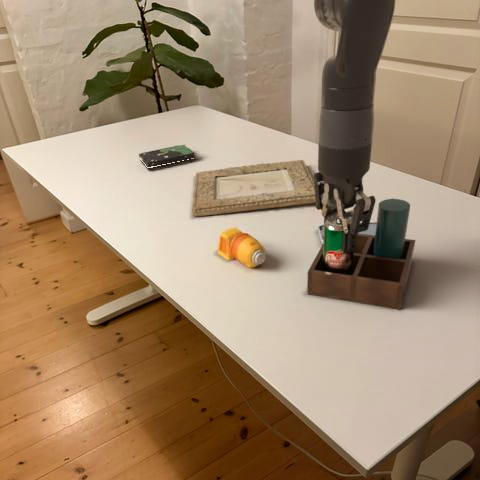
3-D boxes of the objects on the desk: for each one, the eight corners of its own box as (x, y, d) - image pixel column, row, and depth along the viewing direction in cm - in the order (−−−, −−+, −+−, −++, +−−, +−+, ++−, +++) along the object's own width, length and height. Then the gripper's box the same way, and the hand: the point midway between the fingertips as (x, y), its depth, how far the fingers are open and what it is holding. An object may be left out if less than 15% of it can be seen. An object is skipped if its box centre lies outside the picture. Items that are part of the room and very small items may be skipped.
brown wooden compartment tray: (411, 262, 85) (415, 239, 82) (400, 309, 74) (403, 285, 72) (329, 251, 91) (330, 230, 88) (307, 294, 80) (307, 271, 77)
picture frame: (196, 177, 129) (194, 168, 127) (303, 165, 128) (303, 155, 127) (193, 219, 108) (191, 209, 106) (322, 204, 107) (322, 193, 106)
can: (402, 262, 84) (412, 200, 77) (398, 276, 81) (408, 212, 73) (374, 258, 86) (381, 197, 79) (369, 272, 83) (376, 209, 75)
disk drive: (149, 172, 135) (196, 161, 139) (146, 163, 133) (194, 151, 137) (140, 162, 143) (185, 152, 147) (138, 153, 141) (183, 143, 145)
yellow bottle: (273, 266, 88) (237, 243, 96) (272, 241, 85) (235, 219, 93) (250, 277, 86) (215, 252, 94) (248, 251, 82) (212, 228, 90)
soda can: (321, 289, 79) (323, 225, 72) (322, 273, 83) (324, 211, 76) (351, 290, 78) (356, 225, 71) (351, 274, 82) (356, 211, 75)
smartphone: (399, 238, 91) (322, 242, 91) (398, 242, 92) (322, 246, 92) (389, 221, 97) (317, 225, 97) (388, 225, 97) (317, 229, 98)
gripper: (399, 146, 61) (384, 257, 72) (340, 122, 72) (335, 222, 83) (350, 157, 60) (343, 270, 70) (298, 131, 70) (298, 232, 81)
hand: (339, 243), depth 76 cm, fingers closed on soda can, 5 cm apart
